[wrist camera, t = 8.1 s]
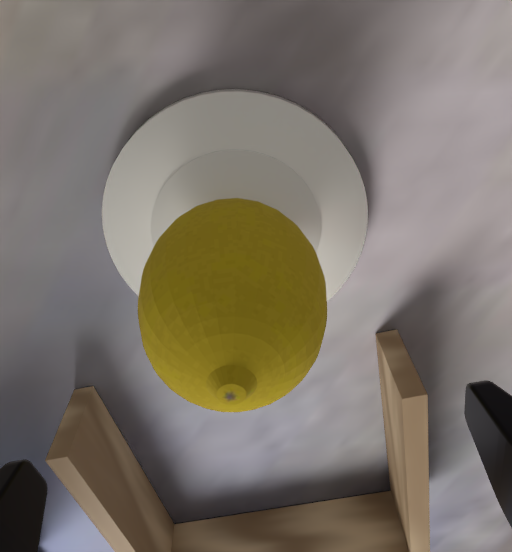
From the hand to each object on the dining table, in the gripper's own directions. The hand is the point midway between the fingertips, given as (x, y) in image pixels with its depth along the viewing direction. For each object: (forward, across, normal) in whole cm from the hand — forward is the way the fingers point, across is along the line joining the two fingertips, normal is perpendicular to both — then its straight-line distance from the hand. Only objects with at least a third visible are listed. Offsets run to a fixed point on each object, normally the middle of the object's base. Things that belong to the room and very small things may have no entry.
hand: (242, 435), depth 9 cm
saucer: (+10, 0, 0) cm, 10 cm away
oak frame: (+10, +2, +14) cm, 18 cm away
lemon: (+9, 0, 0) cm, 9 cm away
